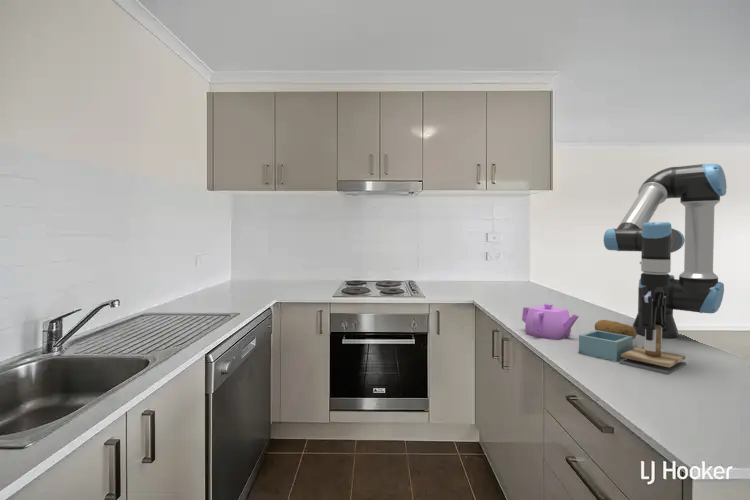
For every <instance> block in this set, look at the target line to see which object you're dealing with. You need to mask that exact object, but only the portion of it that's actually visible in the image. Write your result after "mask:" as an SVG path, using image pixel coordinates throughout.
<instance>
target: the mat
mask: <svg viewBox="0 0 750 500" xmlns="http://www.w3.org/2000/svg"><path fill="white" fill-rule="evenodd" d="M619 364H620V365H626V366H629V367H633V368H637V367H638V369H643V370H646V369H647V370H646V371H652V372H655V373H659V374H660V373H661V374H664V375H669V374H671V373H674V372H675V371H677V370H679V369H680V368H683V367H684V366H686V365H687V362H686V361H681V362H679V363H677V364H675V365H673V366H671V367H665V366H660V365H655V364H650V363H646V362H641V361H636V360H632V359H627V358H624V359H621V360H619Z"/></svg>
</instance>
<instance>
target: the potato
mask: <svg viewBox="0 0 750 500" xmlns="http://www.w3.org/2000/svg"><path fill="white" fill-rule="evenodd" d="M595 330H598V331H604V332H609V333H615V334H621V335H627V336H632V337H633V340H634V339H635V338H636V337H637V335H638V334H637V332H636V330H635V329H634V328H633V326H631V325H629V324H625V323H621V322H618V321H612V320H608V319H600V320H598V321H596V322H595V323H594V331H595Z"/></svg>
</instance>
